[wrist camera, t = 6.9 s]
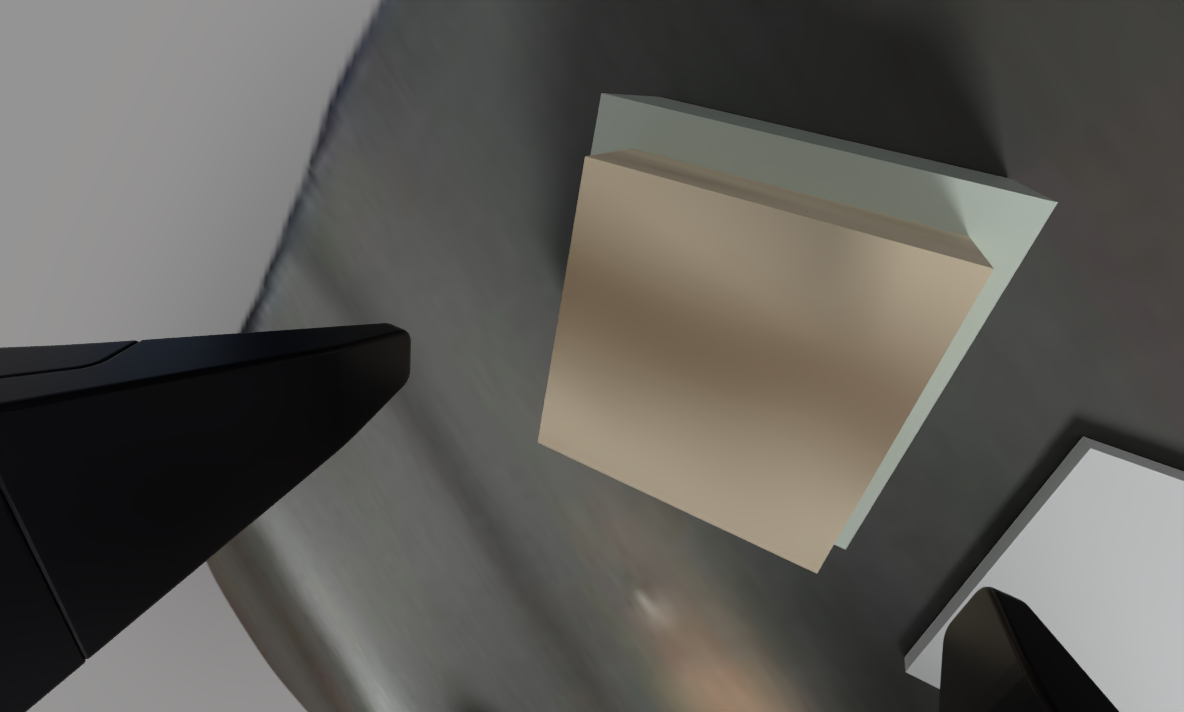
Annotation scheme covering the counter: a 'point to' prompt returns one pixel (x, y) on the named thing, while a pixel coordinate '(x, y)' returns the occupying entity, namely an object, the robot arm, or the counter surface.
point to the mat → (1094, 575)
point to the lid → (746, 344)
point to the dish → (854, 177)
